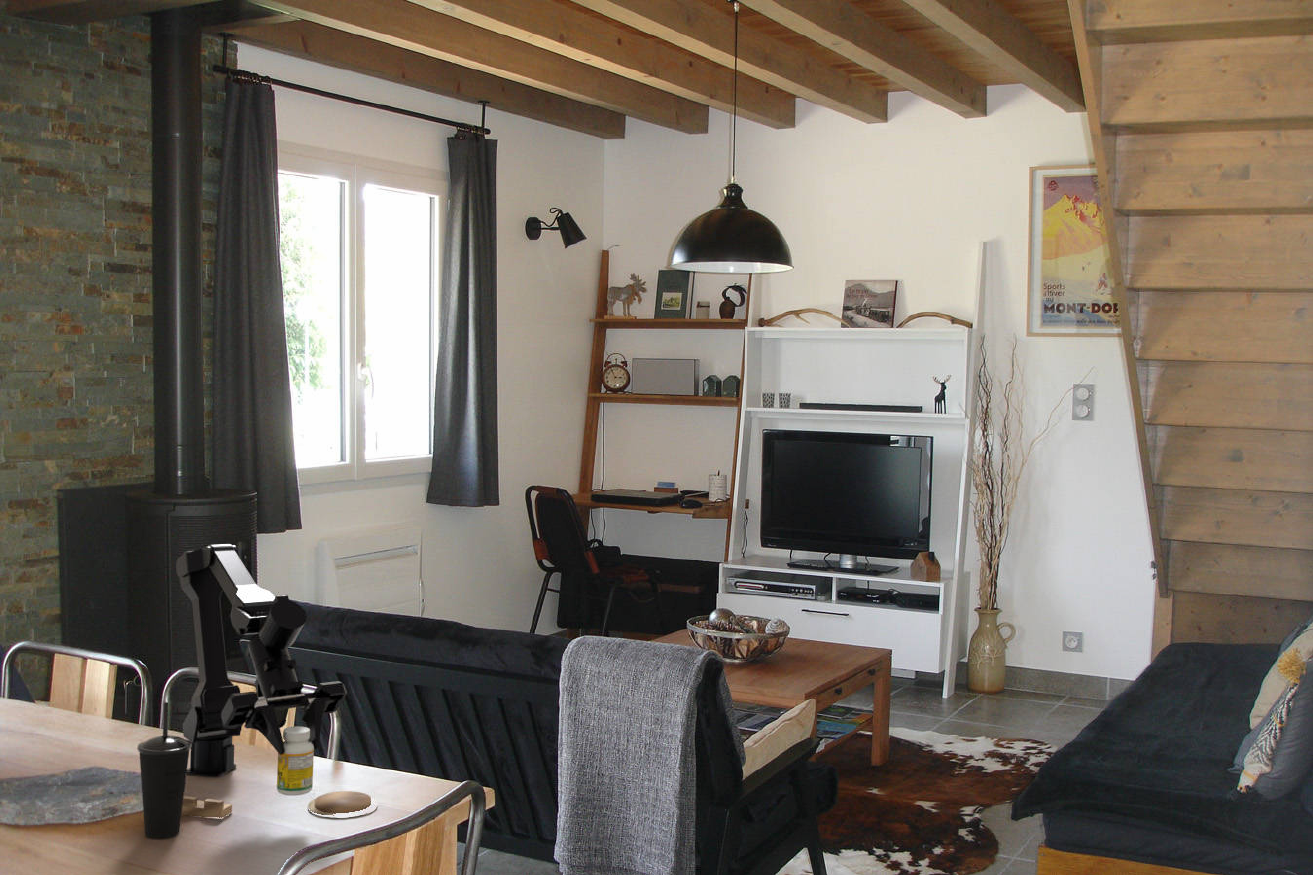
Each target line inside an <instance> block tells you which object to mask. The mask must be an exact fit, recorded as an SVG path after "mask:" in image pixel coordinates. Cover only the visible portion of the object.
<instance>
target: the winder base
mask: <svg viewBox="0 0 1313 875" xmlns="http://www.w3.org/2000/svg"><path fill="white" fill-rule="evenodd" d="M371 797H372V796H370V795H369V794H367V793H364V792H359V791H352V790H351V791H350V790H349V791H348V790H347V791H346V790H343V791H342V790H341V791H333V792H327V793H324V794H321V795H319V796H317V797H316V798H314V799H313V800H311V801H310V802H308V805H307V809H308V808H309V809H310V811H312V812H314V813H317V814H321V815H333V814H336V813H349V812H355V811H360V810H363V809H366V808H367V807H369V806H370V805H371ZM333 816H334V815H333Z"/></svg>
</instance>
